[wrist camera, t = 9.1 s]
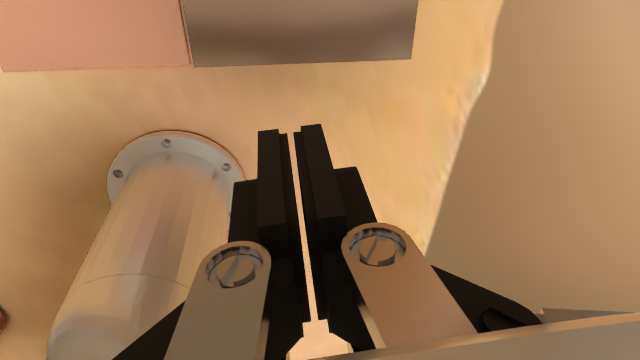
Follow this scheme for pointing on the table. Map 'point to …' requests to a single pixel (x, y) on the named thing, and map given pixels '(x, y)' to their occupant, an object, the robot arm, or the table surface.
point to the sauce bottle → (2, 321)
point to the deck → (298, 31)
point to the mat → (91, 34)
